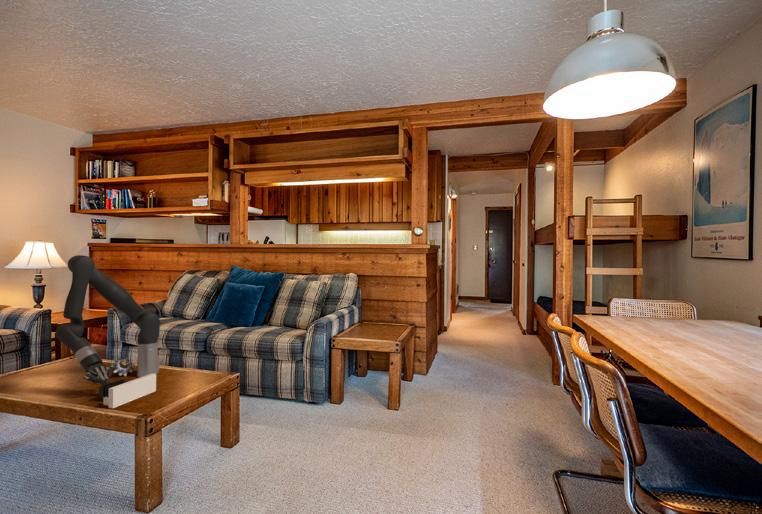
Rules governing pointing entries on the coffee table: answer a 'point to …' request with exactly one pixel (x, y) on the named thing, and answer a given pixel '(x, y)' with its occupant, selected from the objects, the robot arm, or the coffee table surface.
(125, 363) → the passion flower
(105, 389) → the end cap
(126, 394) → the white board with feet
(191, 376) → the coffee table surface
